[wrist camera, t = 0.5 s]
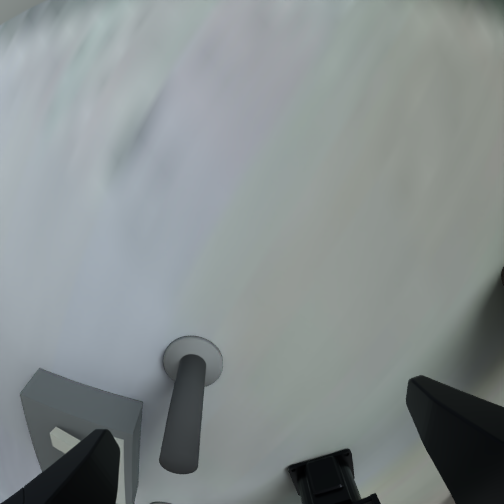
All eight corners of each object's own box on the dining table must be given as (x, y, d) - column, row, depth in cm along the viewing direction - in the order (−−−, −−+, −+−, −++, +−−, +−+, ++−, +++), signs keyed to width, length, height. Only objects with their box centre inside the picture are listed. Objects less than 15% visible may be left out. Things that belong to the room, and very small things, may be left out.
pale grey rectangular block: (87, 444, 19) (81, 452, 18) (89, 456, 20) (83, 464, 19) (55, 426, 20) (49, 433, 19) (58, 439, 20) (52, 446, 19)
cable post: (230, 376, 24) (233, 480, 14) (177, 387, 24) (159, 487, 14) (211, 329, 23) (203, 431, 13) (155, 342, 23) (121, 440, 13)
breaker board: (142, 402, 24) (132, 435, 20) (138, 483, 27) (132, 511, 23) (39, 368, 23) (19, 394, 19) (56, 457, 26) (45, 481, 22)
